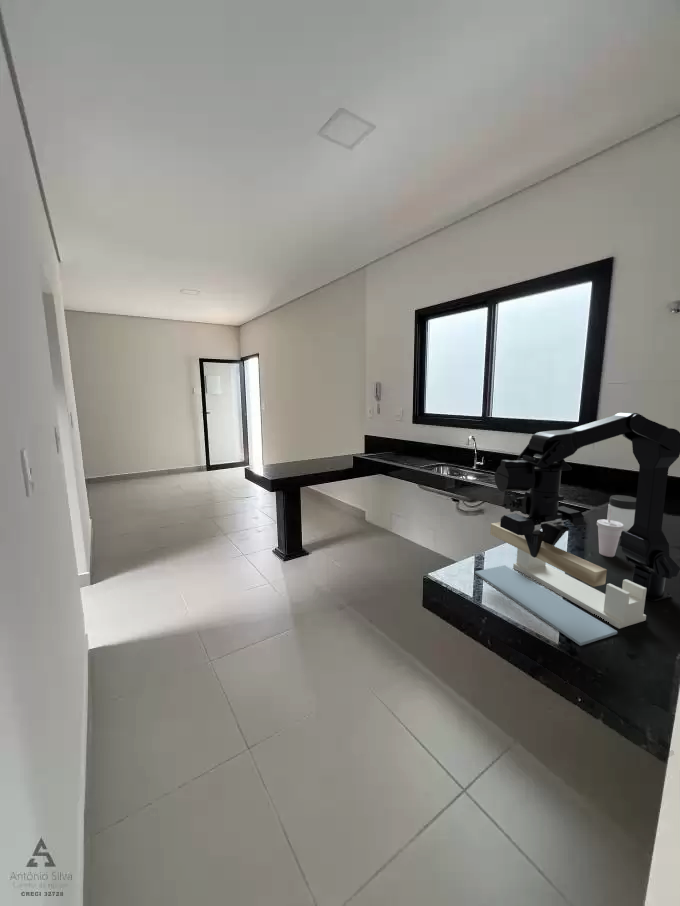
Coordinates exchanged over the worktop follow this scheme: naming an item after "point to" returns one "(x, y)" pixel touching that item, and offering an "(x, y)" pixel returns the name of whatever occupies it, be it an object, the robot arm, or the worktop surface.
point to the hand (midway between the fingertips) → (539, 555)
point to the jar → (622, 510)
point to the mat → (547, 606)
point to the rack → (589, 592)
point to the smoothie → (609, 535)
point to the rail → (555, 557)
